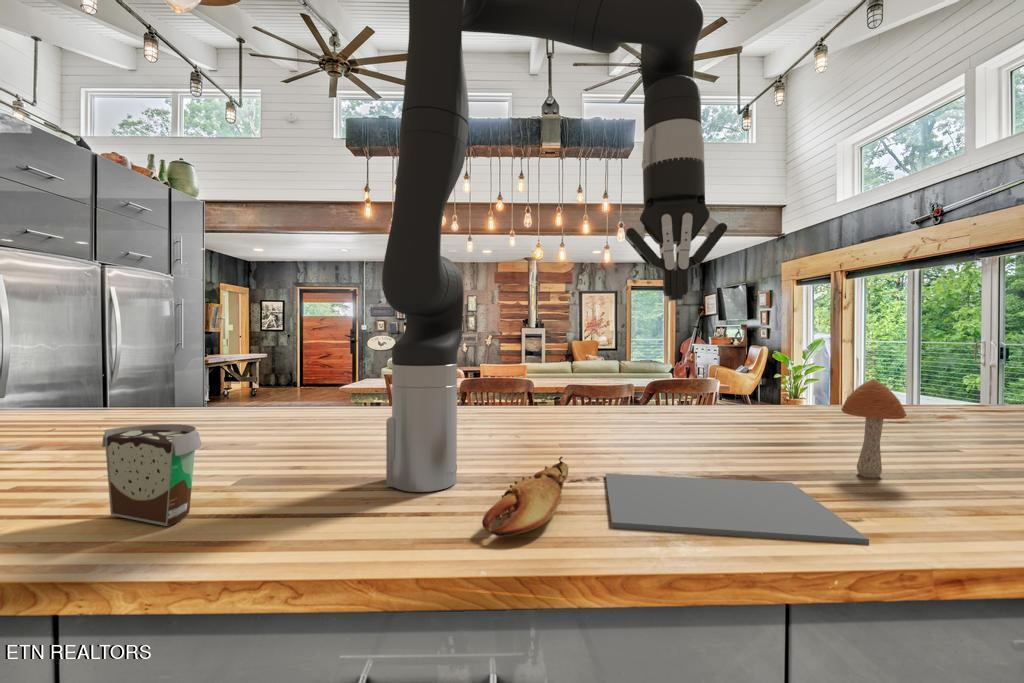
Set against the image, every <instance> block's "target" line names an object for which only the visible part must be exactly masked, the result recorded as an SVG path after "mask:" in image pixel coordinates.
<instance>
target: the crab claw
mask: <svg viewBox="0 0 1024 683" xmlns="http://www.w3.org/2000/svg"><path fill="white" fill-rule="evenodd" d="M562 459H563V456H560V457H559V459H558V461H559V462H558V463H555V464H553V465H551V466H549V467H548V466H546V465H545V466H544V469H543V470H540V471H538V472H536V473H535V474H534V475H533V478H532V477H531V476H529V477H528V478H527V479H526V478H525V477H522V481H518V480H517V481H516V480H514V485H513V484H512V485H511V484H510V485H509V488H508V489H507V490H506V491H505V492H504V494H501V498H500V499H499V500H498V501H497V502H495V504H493V505H492V506H491V507H490V509H488V510H487V512H486V513H485V514H484V515H483V518H482V521H481V524H482V527H483V528H484V530H486V531H487V532H488V533H490V534H493V535H494V536H497V537H508V536H515V535H519V534H522V533H527V532H529V531H532V530H534V529H537V528H539V527H541V526H542V525H545V524H546V523H547V522H548V521H550V520H551V518H552V517H553V516H554V515H555V513H556V511H557V509H558V507H559V505H560V504H561V502H562V500H563V494H562V490H563V486H564V482H565V481H566V480H567V479H568V475H569V466H568V464H567V463H565V462H564V461H562ZM506 515H507V519H505V520H504V521H502V522H501V523H500V525H499V526H497V527H496V528H493V529H491V526H492V524H493V523H495V522H496V520H497V521H498V520H502V518H503V516H506Z"/></svg>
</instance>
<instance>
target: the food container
mask: <svg viewBox="0 0 1024 683" xmlns="http://www.w3.org/2000/svg"><path fill="white" fill-rule="evenodd" d="M101 447H102V448H105V457H106V458H105V459H106V470H107V473H106V474H107V483H108V497H109V510H110V516H113V517H118V518H125V519H129V520H134V521H140V522H143V523H144V522H145V523H151V524H155V525H160V526H166V527H168V526H171V525H173V524H175V523H177V522H180V521H181V520H183V519H184V518H186V517H187V516H188V514H189V513H190V508H191V498H192V489H193V488H192V486H193V477H194V475H193V474H194V465H195V464H194V462H195V456H196V455H195V454H196V453H195V452H196V450H198V449H200V448H201V447H202V440H201V436H200V432H198V431H197V428H196V426H194V425H189V424H179V423H178V424H176V423H171V424H170V423H165V424H163V423H162V424H145V425H144V424H143V425H132V426H131V425H129V426H122V427H115V428H109V429H105V430H104V434H103V435H102V443H101Z"/></svg>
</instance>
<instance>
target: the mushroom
mask: <svg viewBox="0 0 1024 683" xmlns="http://www.w3.org/2000/svg"><path fill="white" fill-rule="evenodd" d="M841 411H842V413H843V414H846V415H850V416H854V417H859V418H860V417H861V418H865V420H864V421H865V424H864V436H863V437H864V438H863V439H864V440H863V443H862V447H861V449H860V453H859V457H858V460H857V464H856V470H857V473H858V475H859V476H860V477H865V478H871V479H877V478H880V476H881V475H882V474H883V473H882V472H883V467H882V466H883V465H882V454H881V439H882V433H883V432H882V431H883V426H884V420H899V419H904V418H905V417H907V413H906V411H905V408H904V406H903V404H902V403H901V401H900V400H899V398H898V397H897V396H896V394H894V393H893V391H891V389H889V387H887V386H886V385H885V384H883V383H882V382H880V381H878V380H876V379H874V378H873V379H870V380H868V381H867V382H864V383H862V384H861V385H859V386H858V387H857V388H855V389H854V390H853V391H852V392H851V394H849V395H848V397H847V398H846V400H845V401H844V403H843V405H842V407H841Z"/></svg>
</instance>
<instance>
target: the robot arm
mask: <svg viewBox="0 0 1024 683" xmlns="http://www.w3.org/2000/svg"><path fill="white" fill-rule="evenodd" d="M408 14H409V15H408V18H409V19H408V45H407V54H406V63H405V64H406V65H405V74H404V75H405V76H404V77H405V78H404V79H405V80H404V92H403V100H402V102H403V103H402V109H401V117H400V118H401V119H400V127H399V128H400V131H399V140H398V142H399V143H398V144H399V147H398V162H397V169H396V179H395V180H396V182H395V192H394V205H393V211H392V218H391V224H390V229H389V234H388V240H387V242H386V243H387V244H386V249H385V254H384V261H383V264H382V265H383V267H382V274H381V284H382V292H383V295H384V297H385V300H386V301H387V303H388V305H389V307H391V308H392V309H393V310H394V311H396V312H397V313H399V314H403V315H406V318H405V320H406V321H405V328H404V332H403V334H402V336H401V337H400V339H398V340H397V341H396V342H395V343H394V344H393V346H392V349H391V363H392V365H391V375H392V376H391V381H392V382H391V383H392V384H391V385H392V386H391V387H392V388H391V416H390V417H388V418H386V424H385V425H386V429H385V431H386V432H385V433H386V434H385V435H386V438H385V439H386V454H385V455H386V456H385V457H386V458H385V459H386V461H385V462H386V464H385V467H386V468H385V469H386V471H385V472H386V480H385V481H386V482H385V484H386V485H385V486H386V487H388V488H394V489H397V490H398V491H399V490H400V491H403V492H412V493H425V492H426V493H427V492H435V491H441V490H445V489H447V488H450V487H453V485H456V482H457V479H458V478H457V476H458V474H457V471H458V464H457V463H458V462H457V459H458V457H457V456H458V455H457V453H458V452H457V451H458V446H457V445H458V441H457V440H458V438H457V437H458V434H457V433H458V381H457V380H458V352H459V349H460V346H461V342H462V339H463V324H464V323H463V322H464V300H465V299H464V298H465V297H464V292H465V291H464V282H463V277H462V274H461V272H460V270H459V268H458V266H457V265H456V264H455V263H454V262H453V261H452V260H450V259H449V258H447V257H445V256H442V255H441V241H442V239H441V238H442V224H443V218H444V213H445V209H446V206H447V204H448V200H449V198H450V197H451V194H452V193H453V191H454V188H455V186H456V184H457V182H458V180H459V178H460V176H461V173H462V170H463V168H464V164H465V161H466V160H465V159H466V154H467V145H468V144H467V143H468V133H469V116H470V113H469V110H470V108H469V95H468V85H467V77H466V70H465V62H464V55H463V44H462V42H463V40H462V39H463V38H462V36H463V34H462V33H463V32H465V33H481V34H483V33H485V34H487V33H488V34H498V35H508V36H509V35H511V36H521V37H531V38H537V39H542V40H548V41H553V42H557V43H562V44H565V45H569V46H573V47H577V48H579V49H584V50H589V51H593V52H596V53H601V54H612V53H615V52H617V50H618V49H619V48H620V47H621V45H622V44H634V45H635V44H639V45H641V47H640V73H641V82H642V88H643V89H642V90H643V95H644V101H643V134H644V135H643V144H642V162H641V167H642V181H643V182H642V188H643V189H642V190H643V192H642V193H643V194H642V196H643V210H642V212H641V214H640V217H639V222H637V224H635V225H634V226H633V227H630V228H627V230H626V231H625V234H624V239H625V241H627V243H628V244H629V245H630V246H631V247H632V248H633V249H634V251H635V252H636V253H637V254H638V255H639V257H640V258H641V259H642V260H643V261H644V263H645V264H647V266H648V267H649V268H650V269H656V270H659V271H661V272H662V293H663V296H664V297H668V301H670V302H672V301H673V302H675V301H682V300H683V298H684V296H687V294H688V292H689V281H688V280H689V279H688V277H689V276H688V275H689V274H688V271H689V269H690V268H693V267H697V266H699V265H700V264H701V263H702V262H703V261H704V260H705V259H706V257H707V256H708V255H709V253H711V251H712V250H713V248H714V247H715V246H716V244H717V243H718V242H719V241H720V239H721V238H722V237H723V236H724V234H725V233H726V231H727V230H728V225H727V224H726V223H725V222H718V221H716V220H715V219H714V218H712V217H711V216H710V215H711V214H710V209H709V208H708V206H707V204H706V182H705V181H706V180H705V178H706V176H705V172H706V171H705V142H704V141H705V140H704V137H703V130H702V127H703V126H702V101H701V100H702V99H701V97H702V96H701V90H700V86H699V84H698V83H697V81H696V80H695V57H696V56H695V54H696V49H697V46H698V43H699V39H700V36H701V33H702V30H703V27H704V21H705V20H704V19H705V15H704V9H703V7H702V5H701V3H700V2H699V1H698V0H408ZM703 227H704V228H705V230H704V231H703V236H704V237H705V239H704V240H703V242H702V243H701V244H700V246H698V249H697V250H695V252H694V254H693V255H691V256H690V251H691V246H692V245H691V244H692V241H694V240H695V239H696V238H697V236H698V234H699V233H700V232H701V230H702V228H703ZM644 230H645V231H646V233H647V234H648V235H649V236H650V238H651V239H652V240H653V242H655V243H656V244H657V245H659V255H660V257H659V255H658V254H656V252H655V251H654V250H653V249H652V248H651V247H650V245H649V244H648V243H647V242H646V240H645V238H646V234H645V231H644ZM674 246H675V247H674ZM674 249H675V250H674ZM674 251H675V253H674Z"/></svg>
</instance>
